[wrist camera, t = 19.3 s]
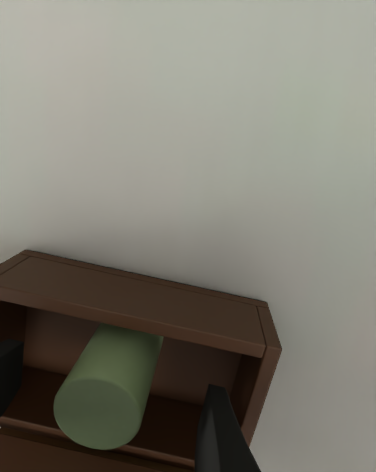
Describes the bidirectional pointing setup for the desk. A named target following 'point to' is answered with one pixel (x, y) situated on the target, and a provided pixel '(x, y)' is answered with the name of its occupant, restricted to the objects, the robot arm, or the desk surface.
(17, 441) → the brown box lid
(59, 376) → the wooden drawer
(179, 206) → the desk surface
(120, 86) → the desk surface
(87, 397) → the coin roll
